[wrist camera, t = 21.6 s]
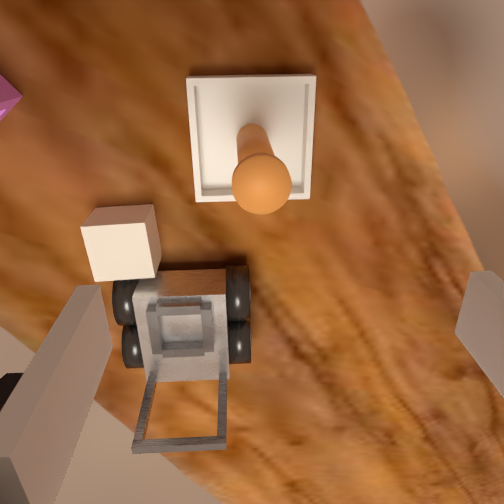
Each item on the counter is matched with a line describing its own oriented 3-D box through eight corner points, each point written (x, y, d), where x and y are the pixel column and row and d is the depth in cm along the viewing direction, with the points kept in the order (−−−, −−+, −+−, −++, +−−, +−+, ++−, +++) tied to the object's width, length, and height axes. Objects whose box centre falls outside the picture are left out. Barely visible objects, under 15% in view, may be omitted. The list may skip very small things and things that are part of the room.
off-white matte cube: (95, 207, 43) (80, 227, 39) (153, 203, 43) (144, 222, 39) (107, 258, 46) (94, 281, 42) (162, 254, 46) (154, 277, 42)
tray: (188, 75, 38) (185, 78, 35) (311, 73, 38) (316, 75, 36) (197, 193, 43) (195, 202, 41) (305, 190, 43) (309, 198, 41)
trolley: (121, 259, 46) (73, 357, 32) (248, 255, 46) (256, 350, 32) (136, 344, 51) (101, 459, 37) (250, 339, 52) (257, 452, 38)
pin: (230, 118, 39) (230, 157, 27) (272, 117, 39) (292, 155, 27) (231, 160, 41) (232, 215, 28) (272, 159, 41) (290, 213, 29)
